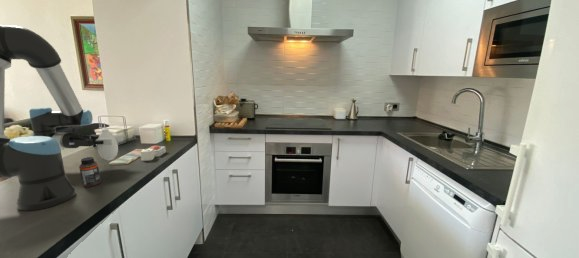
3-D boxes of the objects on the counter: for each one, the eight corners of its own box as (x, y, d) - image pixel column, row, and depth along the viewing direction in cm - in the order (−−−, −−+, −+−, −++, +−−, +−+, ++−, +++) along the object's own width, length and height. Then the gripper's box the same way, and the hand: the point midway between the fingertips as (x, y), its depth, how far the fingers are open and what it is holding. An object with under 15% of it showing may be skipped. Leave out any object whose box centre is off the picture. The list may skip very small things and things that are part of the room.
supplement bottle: (86, 182, 104) (81, 157, 101) (103, 180, 106) (98, 155, 103) (80, 188, 98) (75, 161, 96) (98, 186, 100) (93, 159, 98)
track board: (127, 164, 124) (126, 162, 124) (108, 164, 124) (108, 162, 124) (151, 150, 148) (151, 148, 148) (136, 150, 147) (135, 148, 147)
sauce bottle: (102, 158, 120) (96, 122, 117) (121, 156, 123) (115, 121, 120) (97, 163, 113) (91, 125, 110) (117, 161, 117) (112, 124, 113)
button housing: (159, 156, 136) (158, 150, 136) (144, 156, 136) (143, 150, 135) (165, 152, 144) (165, 146, 144) (152, 152, 144) (151, 146, 143)
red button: (157, 153, 138) (156, 147, 137) (148, 153, 137) (148, 148, 137) (161, 150, 142) (160, 145, 142) (153, 150, 142) (152, 145, 142)
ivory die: (151, 160, 131) (150, 150, 129) (141, 160, 130) (140, 151, 128) (154, 157, 135) (153, 148, 134) (144, 157, 134) (143, 148, 133)
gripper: (85, 142, 126) (131, 141, 127) (49, 154, 107) (103, 153, 107) (83, 128, 125) (129, 127, 126) (46, 137, 105) (100, 136, 106)
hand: (117, 139), depth 117 cm, fingers closed on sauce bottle, 7 cm apart
